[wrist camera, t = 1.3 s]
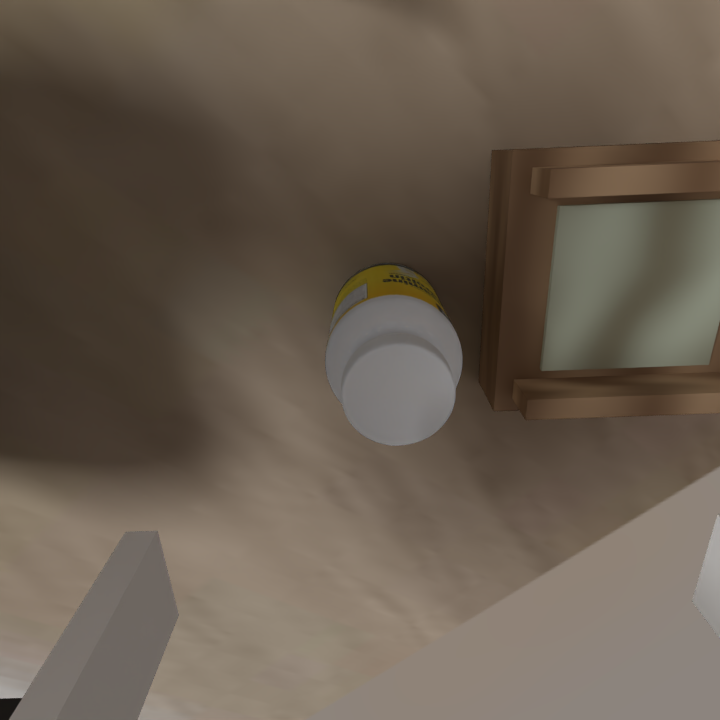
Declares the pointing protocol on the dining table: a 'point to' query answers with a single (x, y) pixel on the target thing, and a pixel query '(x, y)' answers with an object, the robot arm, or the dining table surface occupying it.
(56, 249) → the dining table surface
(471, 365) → the dining table surface
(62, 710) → the robot arm
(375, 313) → the pill bottle
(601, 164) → the wooden tray
